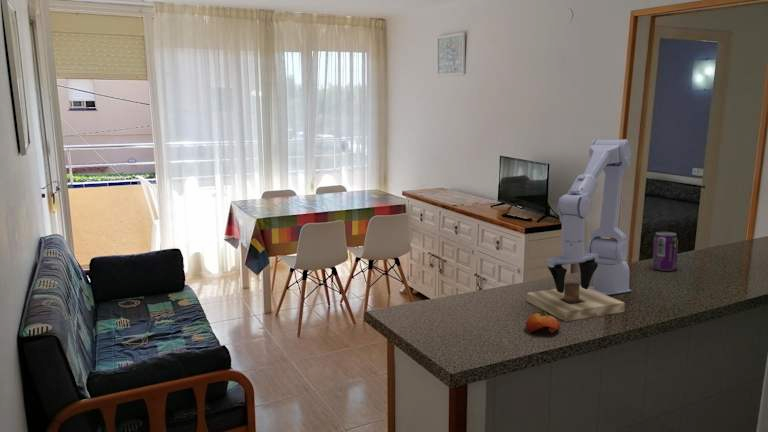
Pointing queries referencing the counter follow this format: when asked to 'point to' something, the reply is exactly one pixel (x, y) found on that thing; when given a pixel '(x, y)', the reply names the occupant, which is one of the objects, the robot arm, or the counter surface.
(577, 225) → the robot arm
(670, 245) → the beverage can
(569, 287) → the peg
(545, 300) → the board
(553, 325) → the tomato
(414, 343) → the counter surface
